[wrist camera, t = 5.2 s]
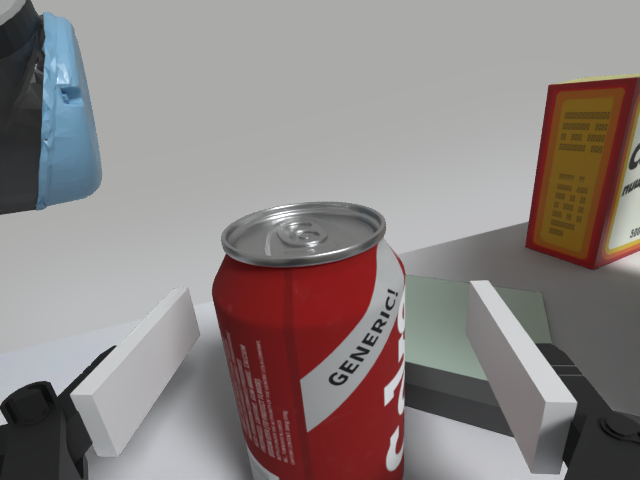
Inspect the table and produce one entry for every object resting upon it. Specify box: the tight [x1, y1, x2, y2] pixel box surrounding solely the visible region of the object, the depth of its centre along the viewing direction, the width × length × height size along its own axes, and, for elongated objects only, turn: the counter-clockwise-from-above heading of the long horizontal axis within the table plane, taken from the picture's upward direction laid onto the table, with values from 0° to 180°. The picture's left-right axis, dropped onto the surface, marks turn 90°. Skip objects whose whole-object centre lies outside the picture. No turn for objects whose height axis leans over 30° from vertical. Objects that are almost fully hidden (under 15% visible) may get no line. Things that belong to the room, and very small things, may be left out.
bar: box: [404, 361, 640, 437], centre depth 19 cm, size 20×2×2 cm, turn 64°
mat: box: [405, 275, 552, 381], centre depth 25 cm, size 12×12×1 cm
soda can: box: [212, 202, 405, 480], centre depth 14 cm, size 7×7×12 cm
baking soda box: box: [525, 74, 640, 270], centre depth 32 cm, size 10×6×16 cm
